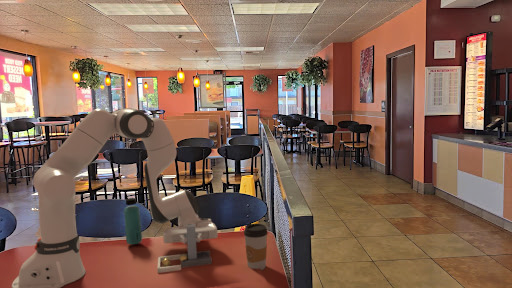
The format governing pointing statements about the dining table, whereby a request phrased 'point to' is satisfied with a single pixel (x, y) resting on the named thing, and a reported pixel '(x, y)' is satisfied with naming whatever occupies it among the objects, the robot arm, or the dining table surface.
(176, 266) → the ball tray
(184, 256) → the brass sphere
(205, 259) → the slot rail
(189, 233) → the tall gray pillar
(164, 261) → the gold metallic ball
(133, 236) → the beverage bottle
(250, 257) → the coffee cup
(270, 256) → the dining table surface
